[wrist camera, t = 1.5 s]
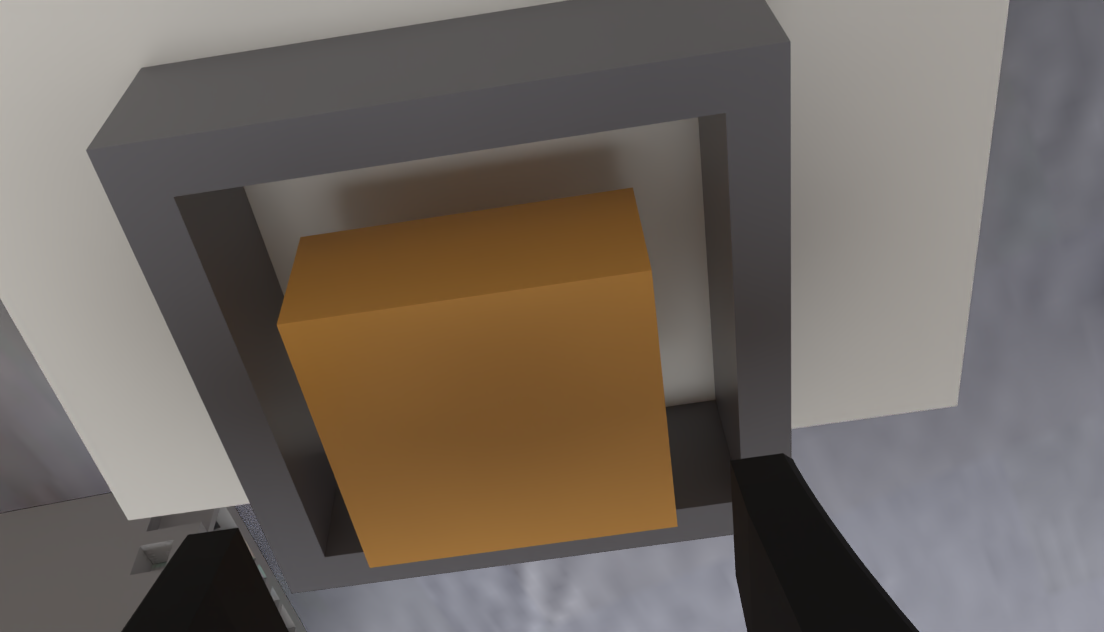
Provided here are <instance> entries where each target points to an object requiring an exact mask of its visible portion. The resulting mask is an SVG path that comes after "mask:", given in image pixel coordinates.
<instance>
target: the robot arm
mask: <svg viewBox="0 0 1104 632" xmlns="http://www.w3.org/2000/svg"><path fill="white" fill-rule="evenodd" d="M730 474H731V493H732V512H733V531H734V550H735V569H736V579H737V583H738V588H739V593H740V598H741V603H742V608H743V613H744V618H745V622H746V627H747V632H919V631H918V630H917V629H916V627H915V626H914V625H913V624H912V623H911V622H910V620H909V619H908V618H907V617H906V616H905V615H904V613H903V612H902V611H901V610H900V609H899V607H898V606H897V605H896V604H895V602H894V601H893V600H892V599H891V597H890V596H889V595H888V594H887V592H886V591H885V590H884V589H883V588H882V586H881V585H880V584H879V583H878V581H877V580H876V579H875V578H874V576H873V575H872V574H871V573H870V571H869V570H868V569H867V568H866V566H865V565H864V564H863V563H862V561H861V560H860V559H859V557H858V556H857V555H856V553H855V552H854V551H853V549H852V548H851V547H850V545H849V544H848V543H847V541H846V540H845V538H844V537H843V536H842V534H841V533H840V532H839V530H838V529H837V527H836V526H835V525H834V523H833V522H832V520H831V519H830V518H829V516H828V515H827V513H826V512H825V510H824V509H823V507H822V506H821V505H820V503H819V502H818V500H817V498H816V497H815V495H814V494H813V492H812V491H811V489H810V488H809V486H808V484H807V483H806V481H805V480H804V478H803V476H802V475H801V473H800V471H799V470H798V468H797V466H796V465H795V463H794V461H793V459H791V458H790V457H788V456H787V455H785V454H784V453H780V454H773V455H765V456H758V457H751V458H744V459H736V460H730ZM121 632H289V631H288V629H287V627H286V625H285V623H284V621H283V619H282V617H281V615H280V613H279V611H278V609H277V607H276V605H275V602H274V600H273V598H272V596H271V594H270V592H269V590H268V588H267V586H266V584H265V582H264V580H263V578H262V576H261V574H260V571H259V569H258V567H257V565H256V563H255V561H254V559H253V557H252V555H251V553H250V551H249V549H248V547H247V545H246V543H245V541H244V538H243V536H242V534H241V532H240V530H239V528H233V529H225V530H218V531H211V532H204V533H196V534H189V535H187V537H186V538H185V539H184V540H183V542H182V543H181V545H180V546H179V547H178V549H177V550H176V552H175V553H174V555H173V556H172V557H171V559H170V560H169V562H168V563H167V565H166V566H165V568H164V569H163V571H162V572H161V574H160V575H159V577H158V578H157V579H156V581H155V582H154V584H153V585H152V587H151V588H150V590H149V591H148V593H147V594H146V596H145V597H144V599H143V600H142V602H141V603H140V605H139V606H138V608H137V609H136V611H135V612H134V613H133V615H132V616H131V618H130V619H129V621H128V622H127V624H126V625H125V627H124V628H123V630H122V631H121Z"/></svg>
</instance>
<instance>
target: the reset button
mask: <svg viewBox="0 0 1104 632" xmlns="http://www.w3.org/2000/svg"><path fill="white" fill-rule="evenodd" d="M277 327H278V330H279V333H280V335H281V338H282V340H283V343H284V346H285V348H286V351H287V353H288V356H289V359H290V361H291V364H292V367H293V369H294V372H295V374H296V377H297V380H298V382H299V385H300V387H301V390H302V393H303V395H304V398H305V400H306V403H307V406H308V408H309V411H310V413H311V416H312V419H313V421H314V424H315V427H316V429H317V432H318V434H319V437H320V440H321V442H322V445H323V447H324V450H325V453H326V455H327V458H328V460H329V463H330V466H331V468H332V471H333V473H334V476H335V479H336V481H337V484H338V487H339V489H340V492H341V494H342V497H343V500H344V502H345V505H346V507H347V510H348V513H349V515H350V518H351V520H352V523H353V526H354V528H355V531H356V533H357V536H358V539H359V541H360V544H361V547H362V549H363V552H364V554H365V557H366V560H367V562H368V565H369V567H370V568H374V567H381V566H388V565H396V564H403V563H411V562H418V561H426V560H433V559H441V558H448V557H455V556H463V555H470V554H478V553H485V552H493V551H500V550H507V549H515V548H522V547H530V546H537V545H545V544H552V543H560V542H567V541H574V540H582V539H589V538H597V537H604V536H612V535H619V534H626V533H634V532H641V531H649V530H656V529H664V528H671V527H678V525H677V515H676V505H675V495H674V485H673V476H672V466H671V456H670V446H669V436H668V426H667V416H666V406H665V396H664V387H663V377H662V367H661V357H660V347H659V337H658V327H657V317H656V307H655V297H654V288H653V278H652V269H651V265H650V260H649V256H648V252H647V247H646V243H645V239H644V234H643V230H642V226H641V221H640V217H639V212H638V208H637V204H636V199H635V195H634V191H633V188H626V189H619V190H613V191H606V192H599V193H593V194H586V195H579V196H572V197H566V198H559V199H552V200H546V201H539V202H532V203H526V204H519V205H512V206H505V207H499V208H492V209H485V210H479V211H472V212H465V213H459V214H452V215H445V216H439V217H432V218H425V219H418V220H412V221H405V222H398V223H392V224H385V225H378V226H372V227H365V228H358V229H352V230H345V231H338V232H331V233H325V234H318V235H311V236H305V237H300V241H299V245H298V248H297V252H296V256H295V259H294V263H293V267H292V270H291V274H290V278H289V281H288V285H287V289H286V292H285V296H284V300H283V303H282V307H281V310H280V314H279V318H278V321H277Z"/></svg>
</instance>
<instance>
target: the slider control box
mask: <svg viewBox="0 0 1104 632" xmlns="http://www.w3.org/2000/svg"><path fill="white" fill-rule="evenodd" d="M1008 7H1009V0H0V299H1V301H2V302H3V304H4V306H5V308H6V309H7V311H8V313H9V314H10V316H11V318H12V320H13V321H14V323H15V325H16V327H17V328H18V330H19V332H20V334H21V335H22V337H23V339H24V340H25V342H26V344H27V346H28V347H29V349H30V351H31V353H32V354H33V356H34V358H35V360H36V361H37V363H38V365H39V366H40V368H41V370H42V372H43V373H44V375H45V377H46V379H47V380H48V382H49V384H50V386H51V387H52V389H53V391H54V392H55V394H56V396H57V398H58V399H59V401H60V403H61V405H62V406H63V408H64V410H65V412H66V413H67V415H68V417H69V418H70V420H71V422H72V424H73V425H74V427H75V429H76V431H77V432H78V434H79V436H80V438H81V439H82V441H83V443H84V445H85V446H86V448H87V450H88V451H89V453H90V455H91V457H92V458H93V460H94V462H95V464H96V465H97V467H98V469H99V471H100V472H101V474H102V476H103V477H104V479H105V481H106V483H107V484H108V486H109V488H110V490H111V491H112V493H113V495H114V497H115V498H116V500H117V502H118V503H119V505H120V507H121V509H122V510H123V512H124V514H125V516H126V517H127V519H128V520H135V519H142V518H149V517H156V516H164V515H171V514H178V513H185V512H193V511H200V510H207V509H214V508H222V507H229V506H236V505H243V504H250V505H251V507H252V509H253V511H254V513H255V515H256V518H257V520H258V522H259V524H260V526H261V528H262V531H263V533H264V535H265V537H266V539H267V541H268V543H269V546H270V548H271V550H272V552H273V554H274V556H275V559H276V561H277V563H278V565H279V567H280V569H281V571H282V574H283V576H284V578H285V580H286V582H287V584H288V587H289V589H290V591H291V593H292V594H293V593H300V592H308V591H315V590H323V589H330V588H338V587H345V586H353V585H360V584H368V583H375V582H382V581H390V580H397V579H405V578H412V577H420V576H427V575H435V574H442V573H450V572H457V571H465V570H472V569H480V568H487V567H495V566H502V565H510V564H517V563H524V562H532V561H539V560H547V559H554V558H562V557H569V556H577V555H584V554H592V553H599V552H607V551H614V550H622V549H629V548H637V547H644V546H652V545H659V544H666V543H674V542H681V541H689V540H696V539H704V538H711V537H719V536H726V535H734V531H733V512H732V493H731V474H730V460H736V459H744V458H751V457H758V456H765V455H773V454H780V453H784V454H785V455H787V456H788V457H790V458H791V429H794V428H801V427H808V426H816V425H823V424H830V423H837V422H845V421H852V420H859V419H866V418H874V417H881V416H888V415H895V414H903V413H910V412H917V411H924V410H932V409H939V408H946V407H953V406H957V403H958V395H959V387H960V380H961V372H962V364H963V356H964V349H965V341H966V333H967V325H968V318H969V310H970V302H971V294H972V287H973V279H974V271H975V263H976V255H977V248H978V240H979V232H980V224H981V217H982V209H983V201H984V193H985V186H986V178H987V170H988V162H989V155H990V147H991V139H992V131H993V124H994V116H995V108H996V100H997V93H998V85H999V77H1000V69H1001V62H1002V54H1003V46H1004V38H1005V31H1006V23H1007V15H1008ZM626 188H633V191H634V195H635V199H636V204H637V208H638V212H639V217H640V221H641V226H642V230H643V234H644V239H645V243H646V247H647V252H648V256H649V260H650V265H651V269H652V278H653V288H654V297H655V307H656V317H657V327H658V337H659V347H660V357H661V367H662V377H663V387H664V396H665V406H666V416H667V426H668V436H669V446H670V456H671V466H672V476H673V485H674V495H675V505H676V515H677V525H678V527H671V528H664V529H656V530H649V531H641V532H634V533H626V534H619V535H612V536H604V537H597V538H589V539H582V540H574V541H567V542H560V543H552V544H545V545H537V546H530V547H522V548H515V549H507V550H500V551H493V552H485V553H478V554H470V555H463V556H455V557H448V558H441V559H433V560H426V561H418V562H411V563H403V564H396V565H388V566H381V567H374V568H370V567H369V565H368V562H367V560H366V557H365V554H364V552H363V549H362V547H361V544H360V541H359V539H358V536H357V533H356V531H355V528H354V526H353V523H352V520H351V518H350V515H349V513H348V510H347V507H346V505H345V502H344V500H343V497H342V494H341V492H340V489H339V487H338V484H337V481H336V479H335V476H334V473H333V471H332V468H331V466H330V463H329V460H328V458H327V455H326V453H325V450H324V447H323V445H322V442H321V440H320V437H319V434H318V432H317V429H316V427H315V424H314V421H313V419H312V416H311V413H310V411H309V408H308V406H307V403H306V400H305V398H304V395H303V393H302V390H301V387H300V385H299V382H298V380H297V377H296V374H295V372H294V369H293V367H292V364H291V361H290V359H289V356H288V353H287V351H286V348H285V346H284V343H283V340H282V338H281V335H280V333H279V330H278V327H277V321H278V318H279V314H280V310H281V307H282V303H283V300H284V296H285V292H286V289H287V285H288V281H289V278H290V274H291V270H292V267H293V263H294V259H295V256H296V252H297V248H298V245H299V241H300V237H305V236H311V235H318V234H325V233H331V232H338V231H345V230H352V229H358V228H365V227H372V226H378V225H385V224H392V223H398V222H405V221H412V220H418V219H425V218H432V217H439V216H445V215H452V214H459V213H465V212H472V211H479V210H485V209H492V208H499V207H505V206H512V205H519V204H526V203H532V202H539V201H546V200H552V199H559V198H566V197H572V196H579V195H586V194H593V193H599V192H606V191H613V190H619V189H626Z"/></svg>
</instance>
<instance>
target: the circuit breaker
mask: <svg viewBox="0 0 1104 632" xmlns="http://www.w3.org/2000/svg"><path fill="white" fill-rule="evenodd" d="M233 528H239V530H240V532H241V534H242V536H243V538H244V541H245V543H246V545H247V547H248V549H249V551H250V553H251V555H252V557H253V559H254V561H255V563H256V565H257V567H258V569H259V571H260V574H261V576H262V578H263V580H264V582H265V584H266V586H267V588H268V590H269V592H270V594H271V596H272V598H273V600H274V602H275V605H276V607H277V609H278V611H279V613H280V615H281V617H282V619H283V621H284V623H285V625H286V627H287V629H288V631H289V632H307V631H306V630H305V628H304V626H303V624H302V623H301V621H300V619H299V618H298V616H297V614H296V612H295V611H294V609H293V607H292V605H291V604H290V602H289V600H288V598H287V597H286V595H285V593H284V591H283V590H282V588H281V586H280V585H279V583H278V581H277V579H276V578H275V576H274V574H273V572H272V571H271V569H270V567H269V565H268V564H267V562H266V560H265V558H264V557H263V555H262V553H261V551H260V550H259V548H258V546H257V545H256V543H255V541H254V539H253V538H252V536H251V534H250V532H249V531H248V529H247V527H246V525H245V524H244V522H243V520H242V518H241V517H240V515H239V513H238V511H237V510H236V508H235V506H229V507H222V508H214V509H207V510H200V511H193V512H185V513H178V514H171V515H164V516H156V517H149V518H142V519H135V520H128V519H127V517H126V516H125V514H124V512H123V510H122V509H121V507H120V505H119V503H118V502H117V500H116V498H115V497H114V495H113V493H107V494H102V495H96V496H91V497H86V498H80V499H75V500H70V501H64V502H59V503H54V504H48V505H43V506H38V507H32V508H27V509H22V510H16V511H11V512H6V513H0V632H121V631H122V630H123V628H124V627H125V625H126V624H127V622H128V621H129V619H130V618H131V616H132V615H133V613H134V612H135V611H136V609H137V608H138V606H139V605H140V603H141V602H142V600H143V599H144V597H145V596H146V594H147V593H148V591H149V590H150V588H151V587H152V585H153V584H154V582H155V581H156V579H157V578H158V577H159V575H160V574H161V572H162V571H163V569H164V568H165V566H166V565H167V563H168V562H169V560H170V559H171V557H172V556H173V555H174V553H175V552H176V550H177V549H178V547H179V546H180V545H181V543H182V542H183V540H184V539H185V538H186V537H187V535H189V534H196V533H204V532H211V531H218V530H225V529H233Z"/></svg>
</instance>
